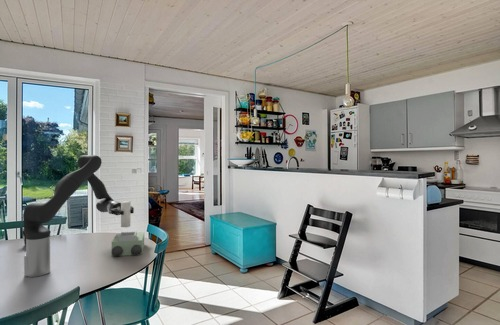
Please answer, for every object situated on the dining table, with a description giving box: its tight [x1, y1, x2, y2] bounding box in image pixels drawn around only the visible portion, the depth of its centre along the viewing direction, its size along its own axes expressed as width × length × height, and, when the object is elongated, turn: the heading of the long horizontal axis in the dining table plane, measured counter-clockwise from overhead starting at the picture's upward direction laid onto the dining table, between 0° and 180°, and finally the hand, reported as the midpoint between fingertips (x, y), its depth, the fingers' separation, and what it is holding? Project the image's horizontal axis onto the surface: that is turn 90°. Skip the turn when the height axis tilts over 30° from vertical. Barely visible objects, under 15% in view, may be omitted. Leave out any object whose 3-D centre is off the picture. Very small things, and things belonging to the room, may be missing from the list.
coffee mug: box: [22, 228, 26, 247], centre depth 183 cm, size 12×9×10 cm
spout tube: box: [120, 200, 132, 228], centre depth 168 cm, size 5×5×14 cm
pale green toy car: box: [111, 231, 145, 258], centre depth 174 cm, size 16×21×11 cm
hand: (127, 212), depth 167 cm, fingers closed on spout tube, 5 cm apart
